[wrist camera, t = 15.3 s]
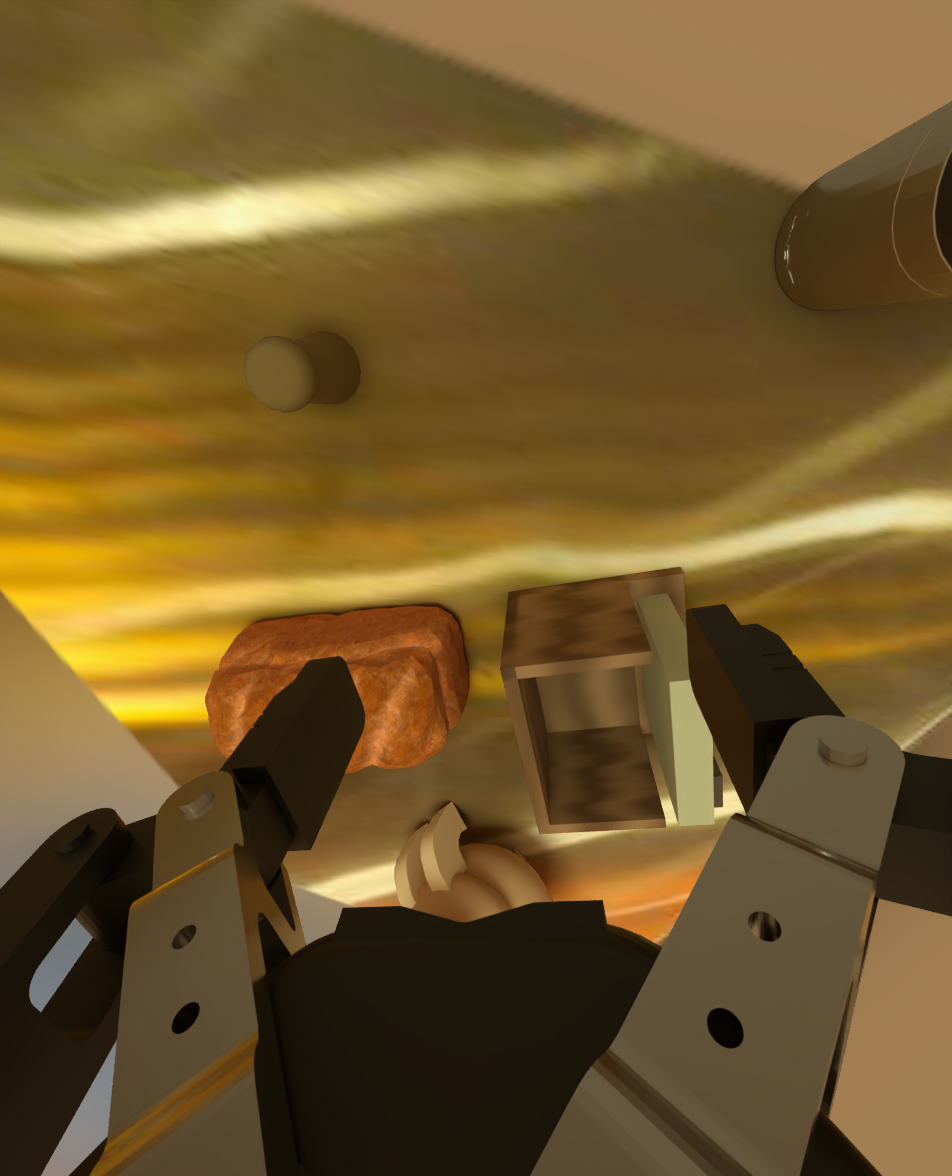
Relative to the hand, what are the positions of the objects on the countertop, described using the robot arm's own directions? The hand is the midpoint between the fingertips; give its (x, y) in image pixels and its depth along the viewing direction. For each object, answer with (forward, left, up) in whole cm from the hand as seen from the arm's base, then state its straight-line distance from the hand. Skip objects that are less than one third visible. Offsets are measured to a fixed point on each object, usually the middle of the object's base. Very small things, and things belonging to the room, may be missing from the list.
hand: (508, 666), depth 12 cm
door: (-9, +27, -36) cm, 46 cm away
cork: (+17, -8, -38) cm, 43 cm away
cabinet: (-4, +27, -38) cm, 47 cm away
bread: (+24, +22, -38) cm, 51 cm away
